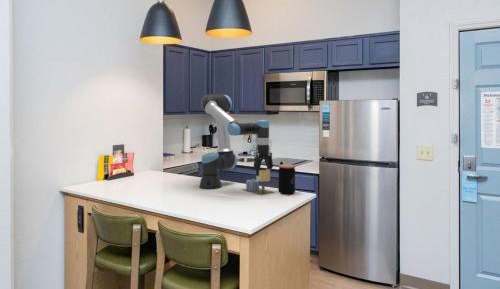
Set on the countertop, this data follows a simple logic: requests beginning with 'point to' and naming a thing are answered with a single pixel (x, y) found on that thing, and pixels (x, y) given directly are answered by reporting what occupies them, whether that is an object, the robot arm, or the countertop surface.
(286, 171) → the coffee jar
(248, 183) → the gear
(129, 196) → the countertop surface
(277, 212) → the countertop surface
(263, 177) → the gear
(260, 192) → the gear board
